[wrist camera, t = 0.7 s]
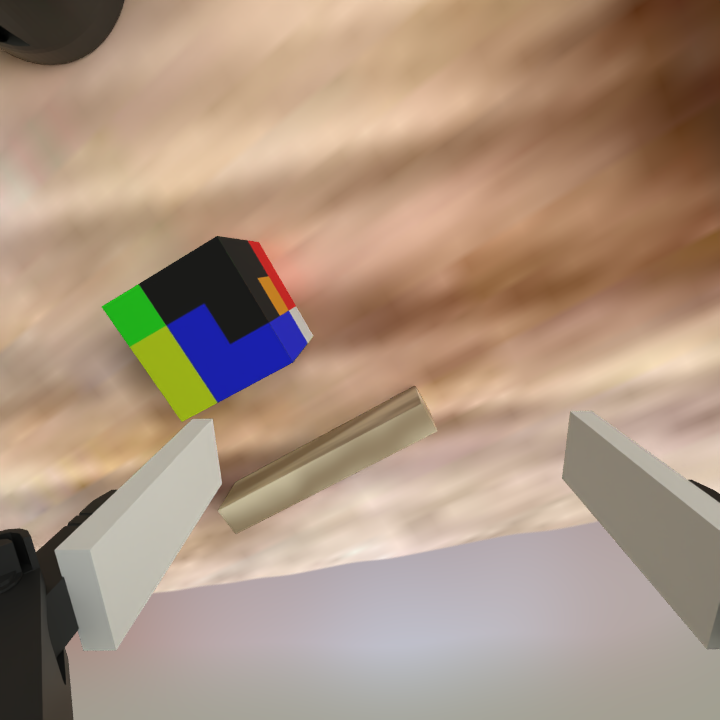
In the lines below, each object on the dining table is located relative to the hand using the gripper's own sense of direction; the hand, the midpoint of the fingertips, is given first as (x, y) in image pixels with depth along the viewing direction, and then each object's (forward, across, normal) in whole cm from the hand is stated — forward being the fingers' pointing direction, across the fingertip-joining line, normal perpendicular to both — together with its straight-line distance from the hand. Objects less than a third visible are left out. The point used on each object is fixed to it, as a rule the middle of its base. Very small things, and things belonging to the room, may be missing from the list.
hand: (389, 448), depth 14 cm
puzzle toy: (+24, -13, +1) cm, 28 cm away
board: (+24, -5, -13) cm, 27 cm away
